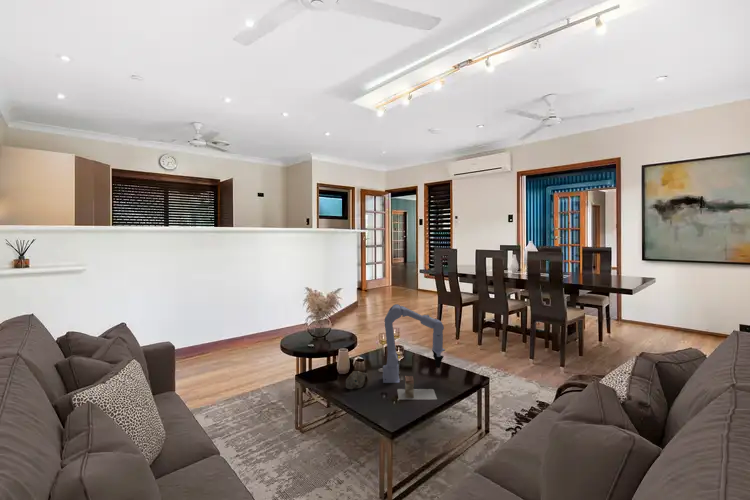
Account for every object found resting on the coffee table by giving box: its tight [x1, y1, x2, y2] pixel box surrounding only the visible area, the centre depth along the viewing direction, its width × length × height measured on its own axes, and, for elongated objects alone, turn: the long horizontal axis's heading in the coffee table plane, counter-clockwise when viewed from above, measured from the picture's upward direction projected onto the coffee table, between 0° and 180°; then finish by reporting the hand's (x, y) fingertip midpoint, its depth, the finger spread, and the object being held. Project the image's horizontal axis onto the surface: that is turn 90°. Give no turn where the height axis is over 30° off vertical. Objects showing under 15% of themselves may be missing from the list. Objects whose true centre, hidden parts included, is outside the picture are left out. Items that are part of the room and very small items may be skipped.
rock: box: [345, 370, 368, 390], centre depth 202 cm, size 12×7×10 cm, turn 120°
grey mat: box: [396, 388, 438, 401], centre depth 192 cm, size 20×12×1 cm, turn 90°
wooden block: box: [404, 375, 415, 398], centre depth 191 cm, size 4×6×9 cm, turn 0°
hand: (437, 364), depth 208 cm, fingers open, 7 cm apart
